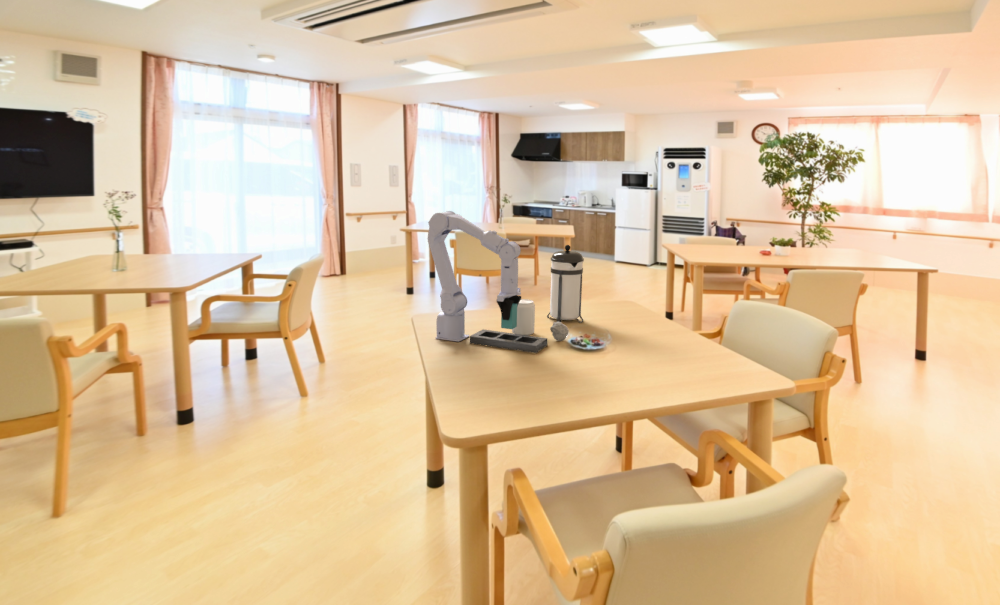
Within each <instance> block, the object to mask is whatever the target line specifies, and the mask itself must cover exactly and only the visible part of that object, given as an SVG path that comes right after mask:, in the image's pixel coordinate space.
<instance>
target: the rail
mask: <svg viewBox="0 0 1000 605" xmlns="http://www.w3.org/2000/svg"><path fill="white" fill-rule="evenodd" d="M472 343H474V344H473V345H478V344H481V345H480V346H485V345H487V346H486V347H491V346H492V348H499V349H507V350H512V351H520V352H524V353H531V354H537V353H539V352H540V351H542V350H543V349H544V348H545V347H547V346H548V338H547V337H543V336H542V337H541V336H540V337H539V336H532V335H520V334H514V333H513V332H506V331H498V330H493V329H492V330H490V329H484V328H483V329H481V330H479V331H476V333H473V334H471V335H469V344H472Z"/></svg>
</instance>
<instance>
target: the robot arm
mask: <svg viewBox="0 0 1000 605" xmlns="http://www.w3.org/2000/svg"><path fill="white" fill-rule="evenodd" d="M427 223H428V233H427V242H428V247H429V249H430V252H431V256H432V260H433V262H434V266H435V270H436V273H437V276H438V280H439V284H440V286H441V292H440V294H439V295H440V308H441V310H442V311H440V312H439V313H438V315H437V317H436V336H435V339H437V340H445V341H451V342H456V343H459V342H461V341H463V340H465V339H467V338H468V337H469V338H470V335H469V334H466V333H465V331H466V329H465V319H466V318H465V316H466V315H465V308H466V307H467V306H468V298H467V296H466V294H464V293H463V290H462V287H461V286H459V285H458V283H457V279H456V276H455V273H454V270H453V266H452V263H451V259H450V256H449V253H448V250H447V246H446V242H445V240H446V239H447V237H448V235H449V234H450V233H451V232H452V231H457V230H459V231H462V232H464V233H465V234H467V235H470V236H471V237H473V238H475V239H477V240H479V242H480V244H481V246H482V247H484V248H485V249H487V250H489V251H491V252H493V253H494V254H495V255H498V257H499V258H500V291H499V293H498V294H497V295H496V297H497V298H496V303H497V305H498V307H499V310H500V313H501V314H502V318H503V320H509V318H510V312H511V307H512V304H513V303H515V304H517V306H518V304H519V302H520V300H521V299H522V292H521V288H520V287H518V286H519V256H520V254H521V251H522V250H521V247H520V245H519V244H518V243H517V242H516V241H513V240H511V241H510V239H509V238H504V237H502V236H501V235H499V234H497V233H498V231H497V230H486V231H485V230H483V229H482V228H480V226H479V227H478V226H477V225H476V224H474V223H472V222H470V221H469V220H467V219H466V218H465V217H463V216H462V215H460V214H458V213H455V212H454V211H452V210H446V211H443V212H435V213H434V214H433V215H432V216H431V217H430V219H429V221H428V222H427Z"/></svg>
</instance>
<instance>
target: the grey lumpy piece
mask: <svg viewBox="0 0 1000 605" xmlns="http://www.w3.org/2000/svg"><path fill="white" fill-rule="evenodd" d="M550 332H551V333H552V334H551V336H552V337H553V338H554V340H555V341H556V342H563V341H564V340H566V339H567V337H568V336H569V335H568V334H569V332H570V331H569V327H568V326H567V325H565V324H563V322H562V321H561V322H556V321H553V323H552V326H551V327H550ZM566 336H567V337H566Z"/></svg>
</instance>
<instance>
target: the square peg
mask: <svg viewBox="0 0 1000 605" xmlns="http://www.w3.org/2000/svg"><path fill="white" fill-rule="evenodd" d="M500 322H501V323H500V325H501V326H500V328H501V329H505V330H512V329H514V328H515V327H517V304H515V303H513V304H512V307H511V312H510V318H509V320H503V318H502V314H501V320H500Z"/></svg>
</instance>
